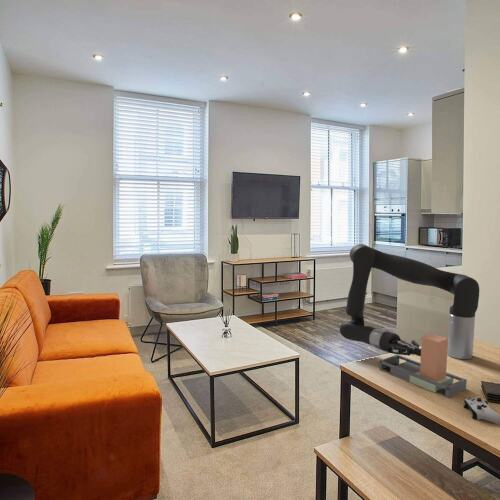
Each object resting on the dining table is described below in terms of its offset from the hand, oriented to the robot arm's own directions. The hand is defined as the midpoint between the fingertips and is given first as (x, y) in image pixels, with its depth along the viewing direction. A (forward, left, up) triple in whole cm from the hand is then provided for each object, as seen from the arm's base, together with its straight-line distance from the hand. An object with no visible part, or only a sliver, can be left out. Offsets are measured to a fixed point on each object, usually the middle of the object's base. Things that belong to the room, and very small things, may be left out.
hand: (425, 354), depth 140 cm
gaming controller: (+7, +22, -10) cm, 26 cm away
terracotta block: (0, +3, -7) cm, 8 cm away
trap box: (0, -2, -10) cm, 10 cm away
